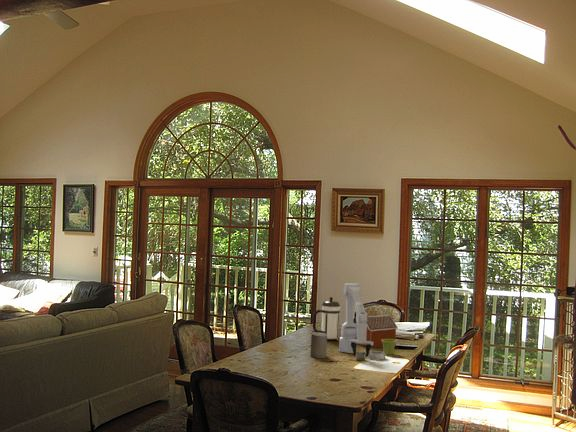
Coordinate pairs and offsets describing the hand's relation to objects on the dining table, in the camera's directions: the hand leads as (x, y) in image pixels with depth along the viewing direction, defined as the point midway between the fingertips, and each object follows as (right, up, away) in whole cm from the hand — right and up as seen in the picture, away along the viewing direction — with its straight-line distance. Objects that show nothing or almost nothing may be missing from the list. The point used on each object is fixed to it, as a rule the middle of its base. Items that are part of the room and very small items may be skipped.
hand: (360, 356), depth 362 cm
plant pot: (+20, -3, +19) cm, 28 cm away
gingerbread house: (+16, -4, +49) cm, 52 cm away
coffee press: (-16, -3, +59) cm, 61 cm away
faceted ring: (+10, -3, +6) cm, 12 cm away
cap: (0, -2, 0) cm, 2 cm away
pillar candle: (-25, -2, +5) cm, 26 cm away
